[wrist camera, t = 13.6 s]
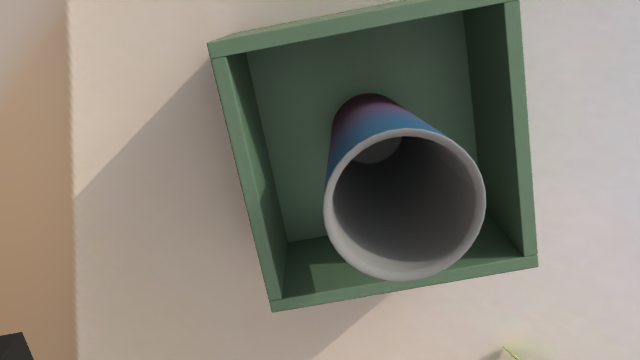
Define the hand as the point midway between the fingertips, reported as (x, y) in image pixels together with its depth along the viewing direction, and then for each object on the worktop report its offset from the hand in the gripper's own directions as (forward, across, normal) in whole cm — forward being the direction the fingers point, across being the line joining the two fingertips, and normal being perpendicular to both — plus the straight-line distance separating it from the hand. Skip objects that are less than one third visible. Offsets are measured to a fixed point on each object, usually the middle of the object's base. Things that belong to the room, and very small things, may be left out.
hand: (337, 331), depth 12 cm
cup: (+26, +3, -2) cm, 27 cm away
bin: (+27, +3, -2) cm, 27 cm away
